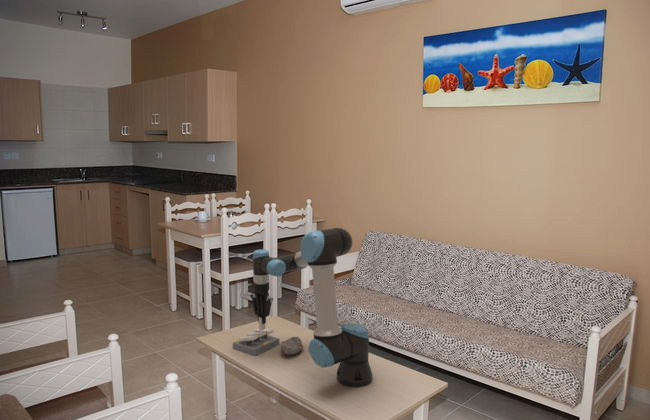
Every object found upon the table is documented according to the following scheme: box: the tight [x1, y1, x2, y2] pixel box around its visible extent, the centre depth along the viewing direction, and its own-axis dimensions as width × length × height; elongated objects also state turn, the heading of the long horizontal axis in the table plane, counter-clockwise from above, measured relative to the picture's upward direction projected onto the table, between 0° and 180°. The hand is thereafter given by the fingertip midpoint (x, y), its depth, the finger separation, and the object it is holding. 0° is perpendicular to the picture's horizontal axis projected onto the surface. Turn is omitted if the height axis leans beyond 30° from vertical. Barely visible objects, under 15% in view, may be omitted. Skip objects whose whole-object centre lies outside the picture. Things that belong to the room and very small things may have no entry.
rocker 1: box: [237, 335, 258, 341], centre depth 237 cm, size 10×4×2 cm, turn 54°
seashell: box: [280, 336, 304, 356], centre depth 235 cm, size 9×12×15 cm
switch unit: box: [232, 334, 280, 357], centre depth 242 cm, size 15×17×5 cm
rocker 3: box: [253, 327, 275, 335], centre depth 246 cm, size 10×4×2 cm, turn 54°
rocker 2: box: [245, 331, 266, 337], centre depth 242 cm, size 10×4×2 cm, turn 54°
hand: (262, 329), depth 239 cm, fingers closed
